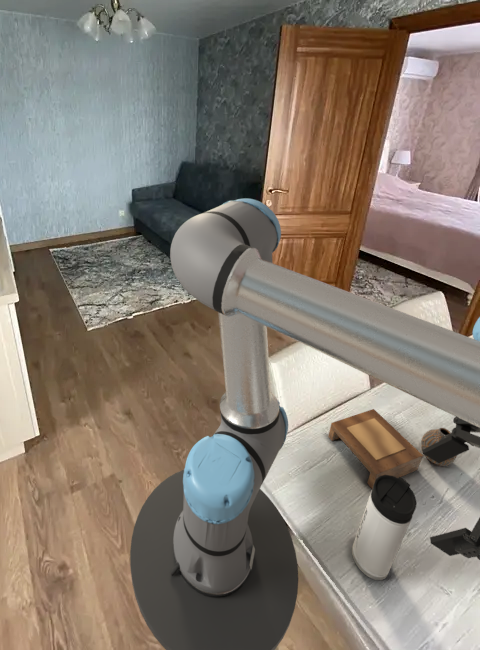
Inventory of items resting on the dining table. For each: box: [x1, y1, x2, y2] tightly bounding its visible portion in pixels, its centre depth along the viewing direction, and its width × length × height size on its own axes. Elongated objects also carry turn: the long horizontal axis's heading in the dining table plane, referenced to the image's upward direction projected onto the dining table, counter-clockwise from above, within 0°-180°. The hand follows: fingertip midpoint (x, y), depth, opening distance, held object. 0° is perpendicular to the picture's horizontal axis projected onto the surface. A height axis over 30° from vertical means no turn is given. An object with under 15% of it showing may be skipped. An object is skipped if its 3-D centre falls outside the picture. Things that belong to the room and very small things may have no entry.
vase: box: [420, 427, 458, 467], centre depth 83 cm, size 7×7×9 cm
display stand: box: [327, 408, 424, 490], centre depth 85 cm, size 14×14×5 cm
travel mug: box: [351, 475, 417, 581], centre depth 62 cm, size 6×7×20 cm
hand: (434, 497), depth 54 cm, fingers open, 13 cm apart
